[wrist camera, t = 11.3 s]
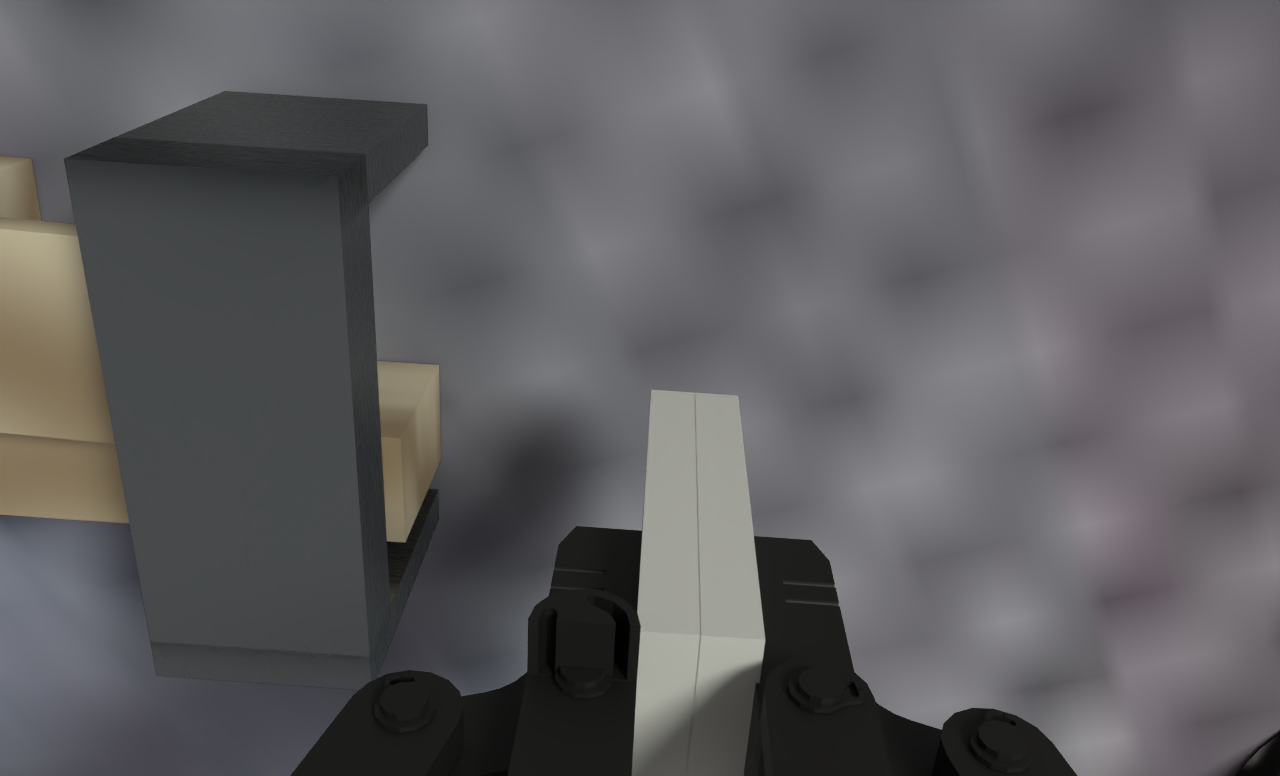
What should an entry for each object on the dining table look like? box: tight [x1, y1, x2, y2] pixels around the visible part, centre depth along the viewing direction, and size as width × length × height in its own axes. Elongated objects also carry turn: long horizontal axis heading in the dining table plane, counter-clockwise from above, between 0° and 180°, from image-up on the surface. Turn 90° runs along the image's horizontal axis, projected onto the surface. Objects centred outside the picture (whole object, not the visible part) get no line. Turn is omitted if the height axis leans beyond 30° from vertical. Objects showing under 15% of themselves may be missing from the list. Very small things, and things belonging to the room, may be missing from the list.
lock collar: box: [64, 91, 439, 690], centre depth 20 cm, size 10×4×6 cm, turn 177°
